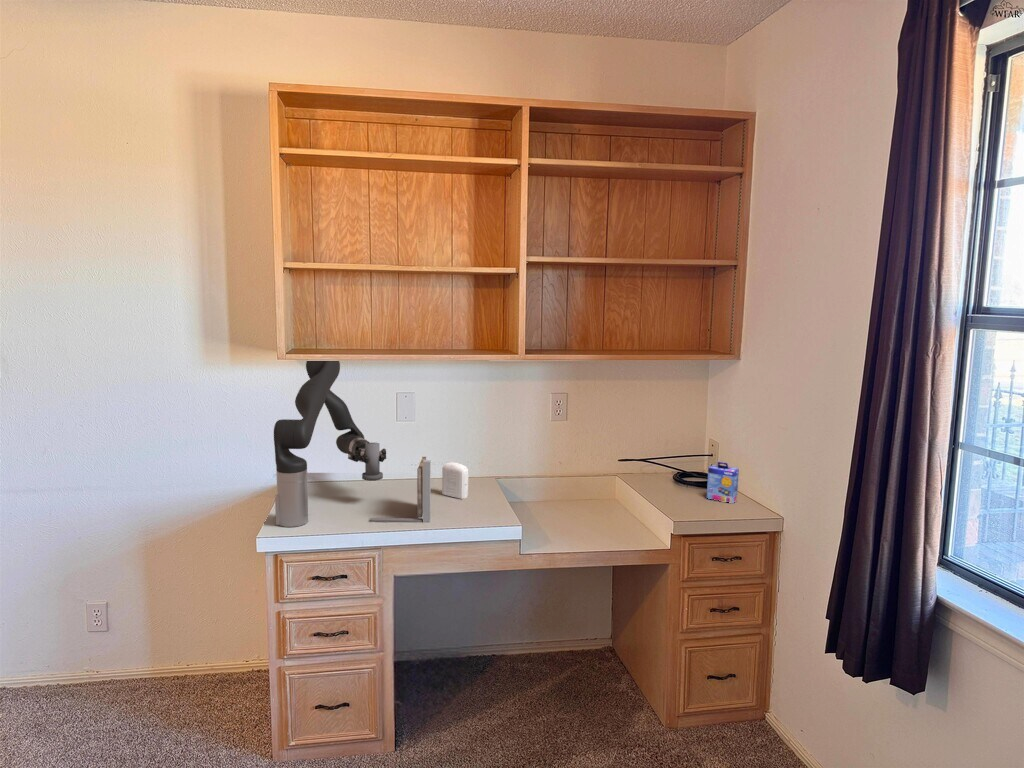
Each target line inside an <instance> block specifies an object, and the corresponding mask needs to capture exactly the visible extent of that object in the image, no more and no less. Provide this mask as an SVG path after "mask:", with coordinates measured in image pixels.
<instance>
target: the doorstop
mask: <svg viewBox="0 0 1024 768" xmlns="http://www.w3.org/2000/svg"><path fill="white" fill-rule="evenodd" d="M380 451H381V450H380V443H379V442H370V443H366V444H365V456H367V457H368V463H364V464H365V465H364V466H365V467H364V469H365V471H364V472H363V473H361V479H362V480H364V481H367V482H368V481H370V482H371V481H373V482H376V481H379V480H382V479H383V478H384V473H383V472H381V470H380V467H381V466H380V465H381V464H380V463H381V462H380Z"/></svg>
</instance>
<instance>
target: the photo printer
mask: <svg viewBox="0 0 1024 768" xmlns="http://www.w3.org/2000/svg"><path fill="white" fill-rule="evenodd" d="M441 476H442V477H441V480H442V481H441V494H442V495H444V496H448V497H453V498H456V499H460V500H465V499H467V498H468V497H469V469H468V467H467V466H465V465H464V464H461V463H460V462H456V461H455V462H453V461H452V462H446V463H444V464H443V466H442V475H441ZM463 498H464V499H463Z"/></svg>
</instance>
